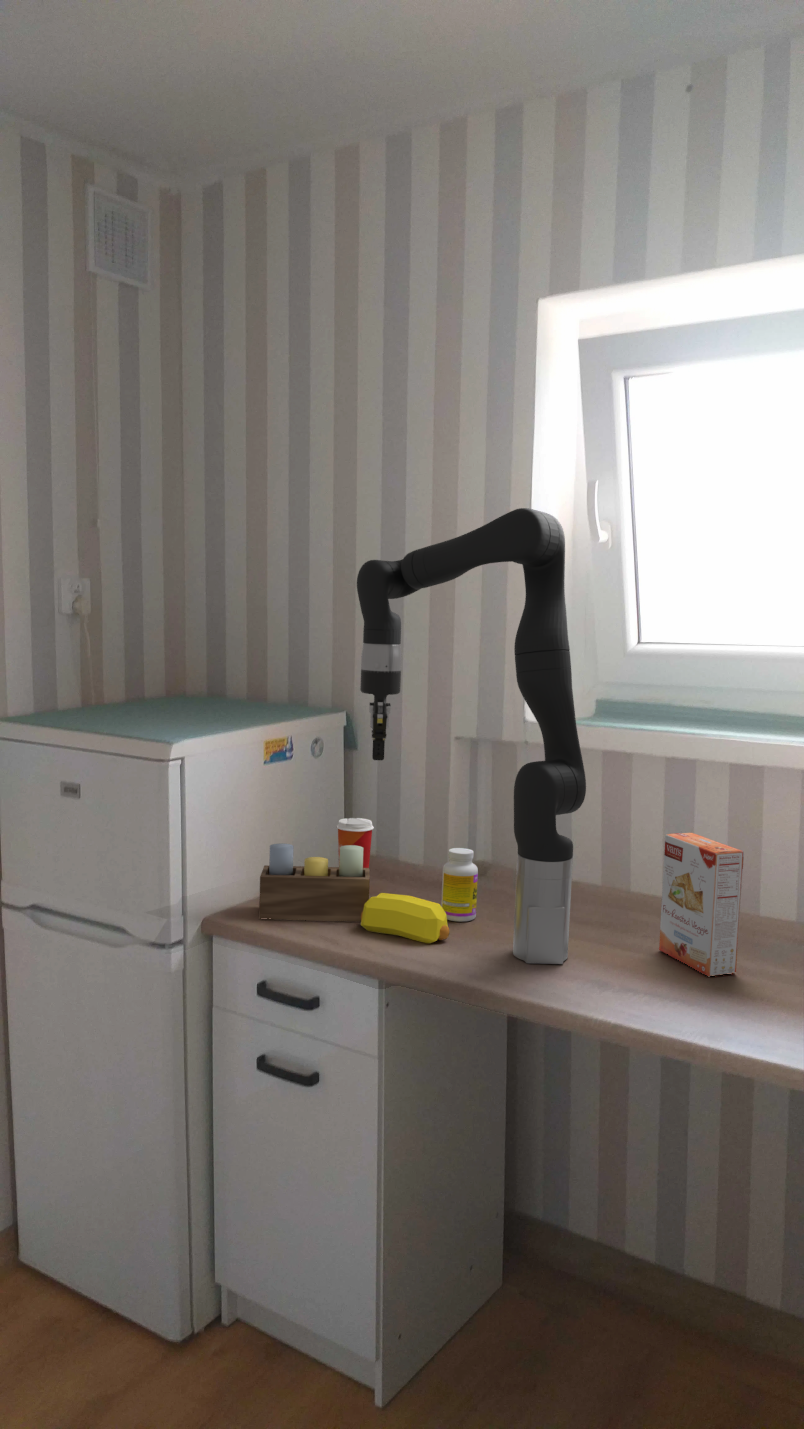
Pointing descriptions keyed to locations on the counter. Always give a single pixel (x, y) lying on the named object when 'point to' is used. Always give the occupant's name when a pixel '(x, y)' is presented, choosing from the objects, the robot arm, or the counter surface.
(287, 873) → the blue-grey cylinder
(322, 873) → the button mustard
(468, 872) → the supplement bottle
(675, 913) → the cracker box
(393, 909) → the yellow toy banana
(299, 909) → the wooden compartment holder
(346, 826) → the paper cup
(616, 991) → the counter surface
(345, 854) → the button sage
